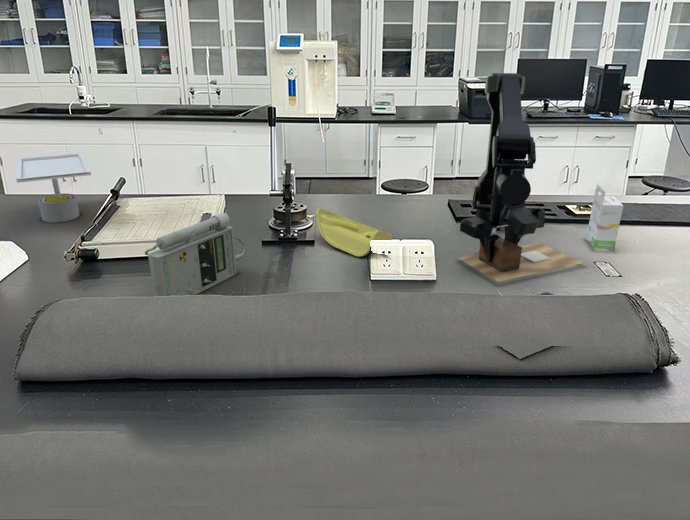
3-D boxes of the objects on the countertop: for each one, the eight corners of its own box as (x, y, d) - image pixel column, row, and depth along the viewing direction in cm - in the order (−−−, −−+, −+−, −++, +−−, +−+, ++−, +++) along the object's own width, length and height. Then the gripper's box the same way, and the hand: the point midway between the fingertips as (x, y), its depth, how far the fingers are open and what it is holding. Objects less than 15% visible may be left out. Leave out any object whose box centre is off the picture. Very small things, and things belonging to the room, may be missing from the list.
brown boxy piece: (478, 259, 121) (480, 238, 119) (495, 256, 122) (497, 235, 121) (501, 272, 114) (504, 250, 112) (519, 268, 116) (522, 247, 114)
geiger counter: (159, 242, 94) (252, 207, 114) (135, 235, 97) (230, 202, 117) (168, 311, 100) (256, 266, 119) (146, 303, 103) (235, 260, 122)
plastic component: (396, 236, 130) (374, 229, 122) (385, 265, 131) (363, 259, 123) (337, 214, 142) (313, 206, 134) (327, 240, 142) (304, 233, 134)
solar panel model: (100, 225, 145) (90, 171, 139) (28, 235, 137) (15, 179, 132) (91, 200, 167) (82, 152, 162) (29, 207, 160) (17, 158, 154)
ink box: (614, 252, 127) (627, 192, 121) (592, 251, 128) (604, 191, 122) (606, 240, 135) (617, 183, 129) (585, 239, 136) (595, 182, 130)
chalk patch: (518, 255, 123) (518, 253, 123) (534, 252, 125) (535, 250, 125) (533, 263, 119) (533, 261, 118) (550, 259, 121) (550, 257, 120)
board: (457, 261, 122) (458, 257, 121) (538, 246, 131) (539, 242, 131) (497, 285, 110) (498, 281, 110) (583, 266, 119) (584, 262, 119)
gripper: (496, 206, 101) (488, 280, 107) (569, 195, 109) (557, 265, 115) (461, 192, 111) (455, 261, 117) (530, 183, 118) (521, 248, 124)
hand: (498, 259), depth 118 cm, fingers closed on brown boxy piece, 5 cm apart
